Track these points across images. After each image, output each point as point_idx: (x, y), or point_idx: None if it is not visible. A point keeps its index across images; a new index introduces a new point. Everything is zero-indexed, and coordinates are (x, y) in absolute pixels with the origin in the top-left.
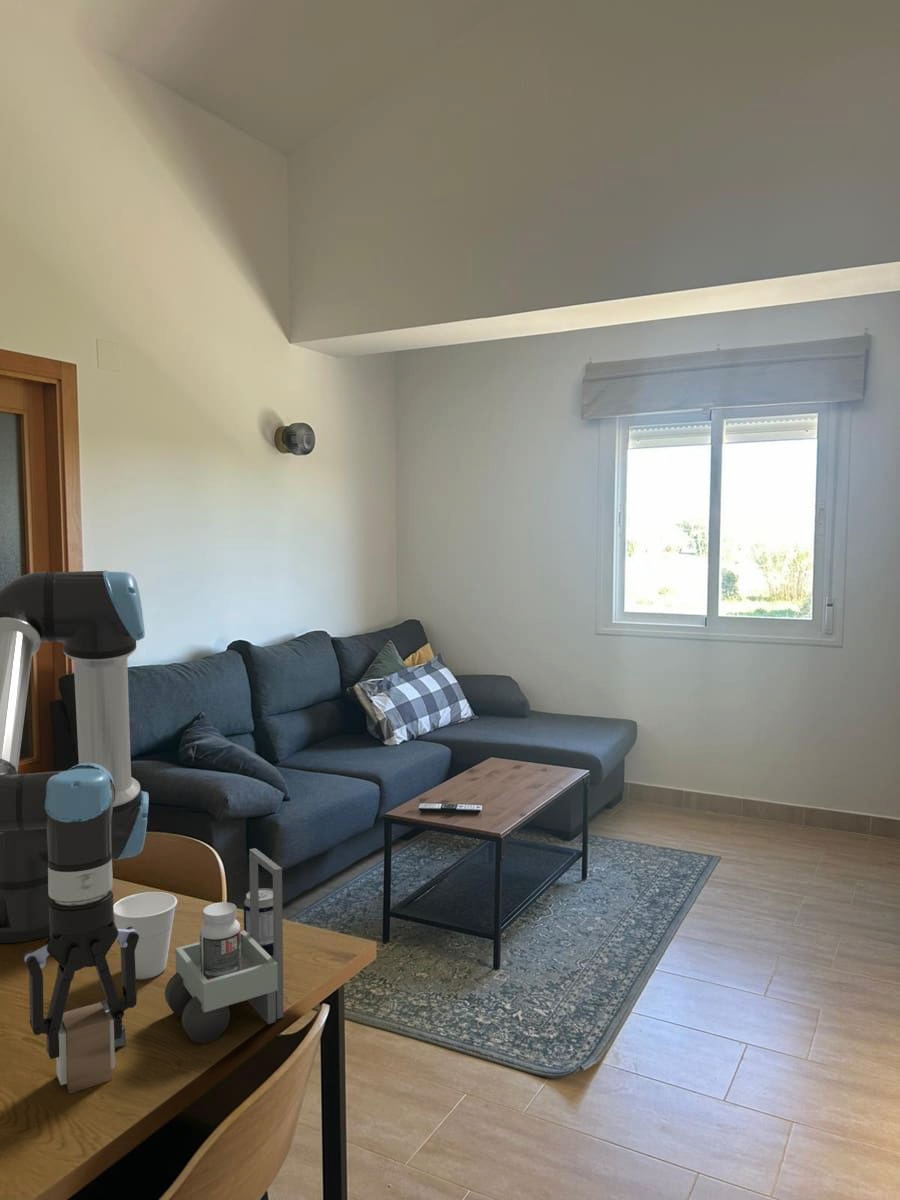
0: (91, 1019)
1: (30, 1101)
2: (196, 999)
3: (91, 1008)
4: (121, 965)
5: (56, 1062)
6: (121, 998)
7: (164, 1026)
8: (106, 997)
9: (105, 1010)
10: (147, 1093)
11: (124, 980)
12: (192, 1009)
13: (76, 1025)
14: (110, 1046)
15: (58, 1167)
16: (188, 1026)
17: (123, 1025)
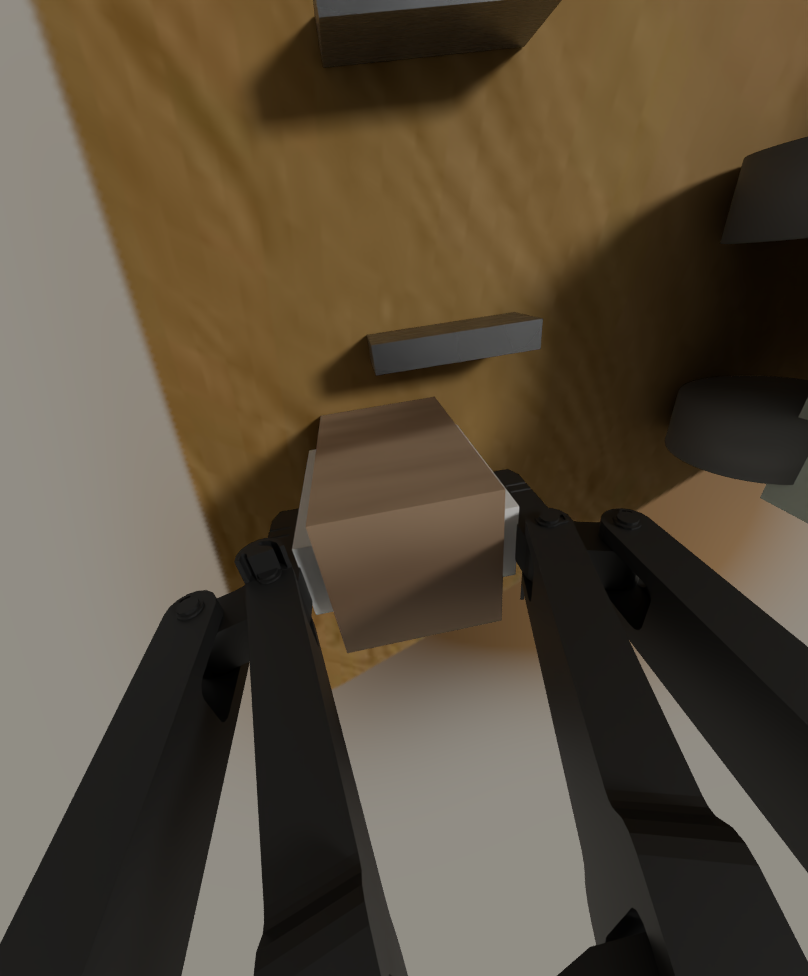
0: (440, 604)
1: (252, 507)
2: (804, 447)
3: (455, 528)
4: (769, 699)
5: (306, 467)
6: (593, 563)
7: (652, 267)
8: (538, 615)
9: (519, 22)
10: None
11: (675, 658)
12: (751, 471)
13: (381, 626)
14: None
15: (332, 674)
16: (689, 461)
17: (541, 322)
